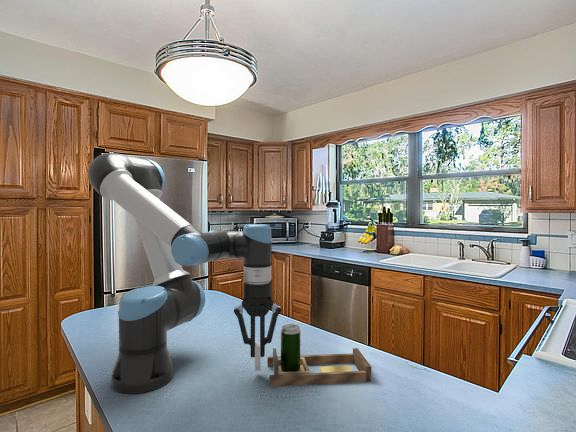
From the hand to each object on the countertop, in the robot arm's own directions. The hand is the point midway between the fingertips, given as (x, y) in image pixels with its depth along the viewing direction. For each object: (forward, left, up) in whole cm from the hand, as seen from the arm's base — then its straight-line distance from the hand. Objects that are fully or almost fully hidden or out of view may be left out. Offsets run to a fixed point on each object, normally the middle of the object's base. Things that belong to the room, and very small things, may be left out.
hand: (257, 368), depth 93 cm
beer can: (+9, 0, -1) cm, 9 cm away
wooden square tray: (+9, 0, -2) cm, 9 cm away
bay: (+16, 0, -2) cm, 16 cm away
